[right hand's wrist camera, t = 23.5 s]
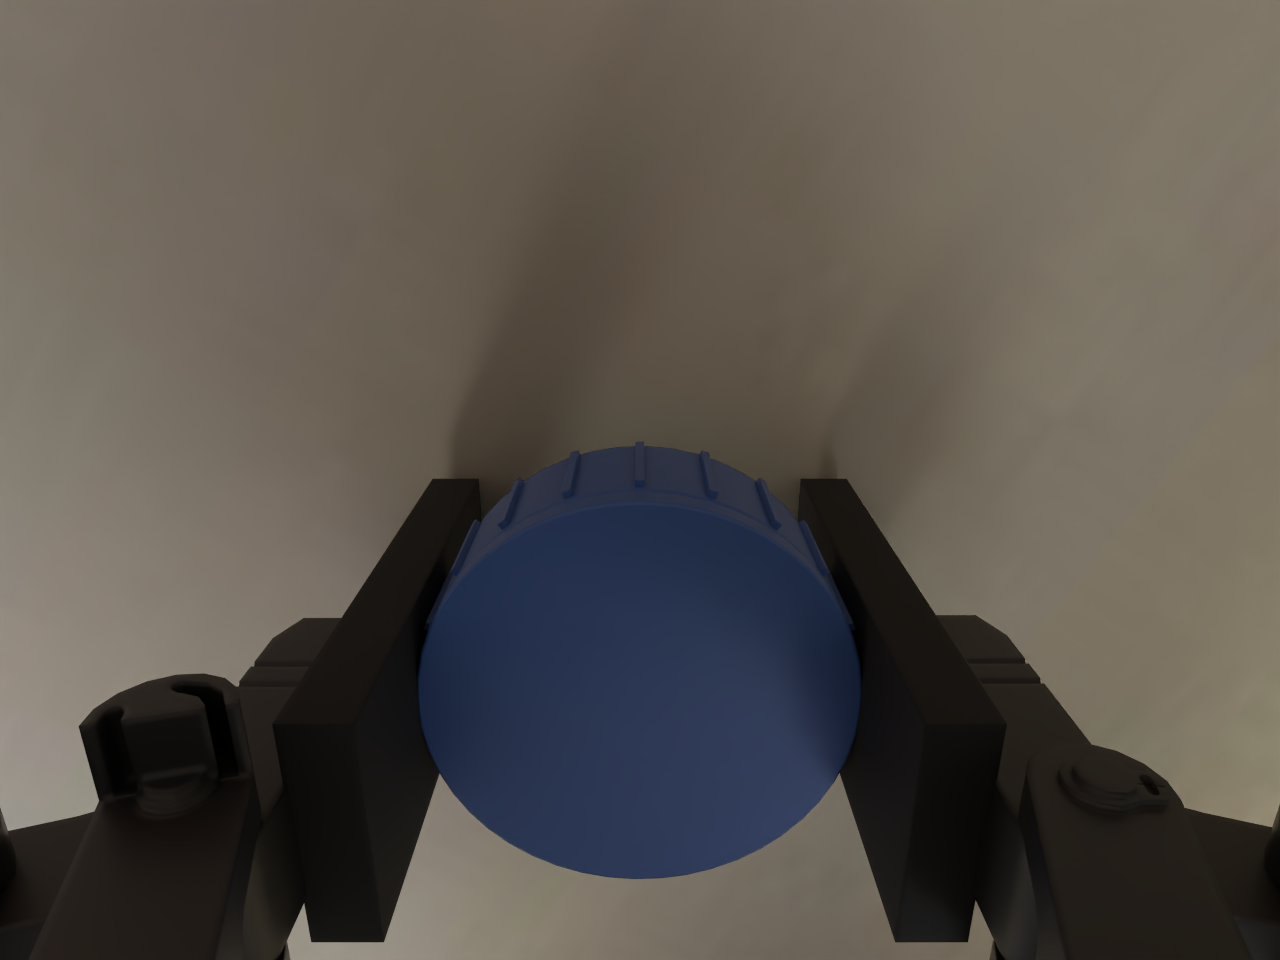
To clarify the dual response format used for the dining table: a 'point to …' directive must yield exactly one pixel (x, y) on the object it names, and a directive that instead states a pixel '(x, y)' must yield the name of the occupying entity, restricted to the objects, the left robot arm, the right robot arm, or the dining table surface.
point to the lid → (639, 666)
